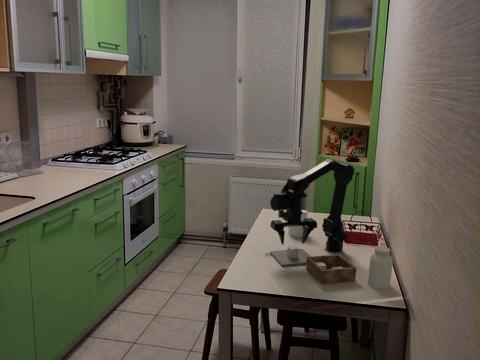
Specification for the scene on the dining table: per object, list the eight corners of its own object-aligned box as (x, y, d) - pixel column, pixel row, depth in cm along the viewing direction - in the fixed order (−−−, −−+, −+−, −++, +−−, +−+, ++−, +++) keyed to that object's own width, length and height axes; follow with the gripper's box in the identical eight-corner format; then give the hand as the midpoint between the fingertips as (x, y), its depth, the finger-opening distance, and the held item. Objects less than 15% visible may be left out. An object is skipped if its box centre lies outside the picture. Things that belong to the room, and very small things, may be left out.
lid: (302, 251, 206) (302, 240, 205) (316, 264, 192) (317, 252, 191) (269, 253, 202) (270, 242, 201) (282, 267, 188) (282, 255, 187)
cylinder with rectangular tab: (309, 233, 231) (310, 209, 229) (301, 238, 224) (303, 214, 221) (293, 229, 236) (294, 206, 233) (285, 234, 229) (286, 210, 226)
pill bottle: (386, 293, 168) (390, 254, 165) (364, 287, 172) (368, 249, 169) (392, 285, 175) (396, 247, 172) (371, 280, 179) (374, 243, 176)
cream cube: (321, 270, 185) (322, 261, 184) (325, 273, 182) (326, 265, 181) (313, 271, 184) (314, 262, 183) (317, 274, 181) (318, 266, 180)
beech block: (340, 273, 182) (341, 266, 182) (345, 278, 178) (346, 270, 178) (331, 274, 181) (331, 267, 180) (336, 279, 177) (336, 271, 177)
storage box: (337, 268, 190) (338, 254, 188) (355, 282, 176) (356, 267, 175) (306, 271, 186) (306, 257, 185) (321, 286, 173) (322, 271, 171)
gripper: (307, 201, 202) (305, 236, 205) (266, 203, 197) (265, 238, 200) (318, 208, 191) (316, 244, 195) (275, 211, 186) (274, 248, 190)
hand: (292, 243), depth 195 cm, fingers open, 9 cm apart
